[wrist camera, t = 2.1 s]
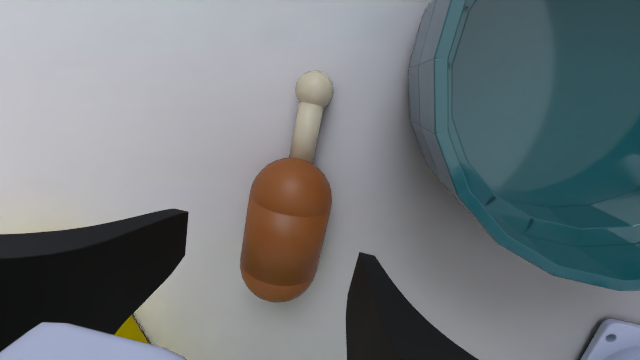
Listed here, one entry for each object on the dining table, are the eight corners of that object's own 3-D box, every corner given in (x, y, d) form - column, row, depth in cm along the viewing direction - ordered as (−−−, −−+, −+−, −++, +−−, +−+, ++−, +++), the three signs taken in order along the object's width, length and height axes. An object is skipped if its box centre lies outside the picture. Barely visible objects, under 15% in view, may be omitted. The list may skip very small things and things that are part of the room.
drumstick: (314, 280, 19) (303, 329, 15) (249, 264, 19) (223, 308, 15) (359, 80, 15) (361, 77, 12) (281, 63, 16) (256, 55, 12)
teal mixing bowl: (656, 254, 16) (802, 334, 11) (373, 190, 17) (382, 236, 12) (860, -88, 12) (1270, -232, 6) (466, -156, 12) (548, -335, 7)
